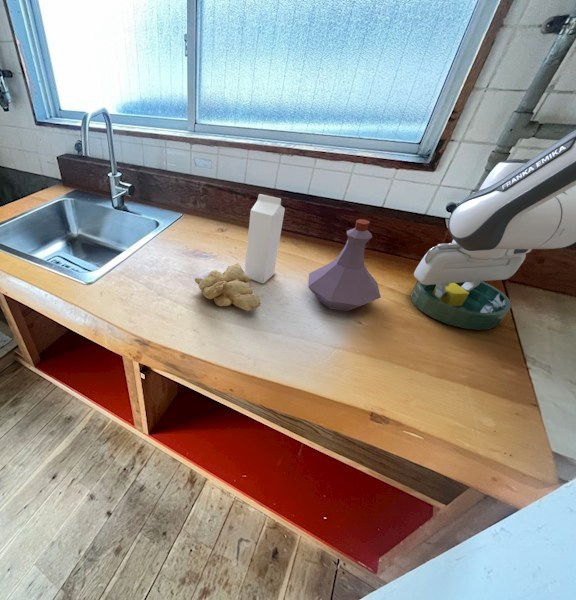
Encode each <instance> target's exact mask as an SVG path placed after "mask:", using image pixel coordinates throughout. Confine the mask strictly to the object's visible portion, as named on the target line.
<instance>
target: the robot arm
mask: <svg viewBox="0 0 576 600" xmlns="http://www.w3.org/2000/svg"><path fill="white" fill-rule="evenodd" d="M574 187H576V129H574V130H572V131H571V132H569V133H568V134H566V135H565V136H563V137H562V138H560V139H559V140H557V141H556V142H554V143H553V144H551V145H549V147H547V148H546V149H544V150H543V151H541V152H540V153H538V154H537V155H535V156H534V157H532V158H510V159H506V160H505V159H504V160H503V161H500V162H498V163H497V164H496V165H495V166H494V167H493V168H492V170H491V171H490V172H489V174H488V175H487V176H486V178H485V179H484V181H482V183H481V186H480V187H479V189H478V190H476V191H474V192H472V193H470V194H469V195H467V196H466V197H465V198H464V199H462V200H461V201H460V202H459V203H458V204H457V205H456V207H454V209H453V210H452V211H451V213H450V216H449V218H448V221H447V229H448V232H449V235H450V236H451V238H452V241H451V242H448V243H438V244H437V245H435V246H433V247H432V248H429V250H428V251H427V252H426V253H425V254H424V256H423V257H422V258H421V260H420V262H419V263H418V265H417V266H416V268H415V270H414V272H413V277H414V278H415V280H416V281H417V280H418V281H419V282H420V283H422V284H423V285H433V284H436V287H437V290H436V291H435V296H437V297H438V298H445V297H446V296H447V294H448V293H449V292H448V291H447V290H446V288H445V287H447V286H449V284H450V283H462V282H465V283H464V284H463V285H462V286H461V288H463V289H464V290H466V291H467V292H468V293H469V292H470V290H472V289H474V288H475V287H476V286H478V285H479V284H480V282H481V281H483V282H489V281H505V280H508V279H510V278H511V277H513V276H514V275H515V274H516V273H517V271H518V270H519V268H520V267H521V266H522V264H523V263H524V261H525V260H526V257H527V254H528V253H531V251H533V250H555V249H564V248H567V247H568V248H569V247H571V246H572V245H574V244H576V190H575V189H573V188H574Z"/></svg>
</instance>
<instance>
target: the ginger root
mask: <svg viewBox="0 0 576 600" xmlns="http://www.w3.org/2000/svg"><path fill="white" fill-rule="evenodd" d="M250 281H251V279H249V277H248V276H247V275H246V274H244V270H243V268H242V266H241V264H240V263H235V264H232V265H228V266H227V267H226V269H225V271H223V272H220V271H218V270H217V269H216V270H211V271H210V272H209V273H208V274H207V275H205V277H204V278H202V277H201V278H200V277H195V278H194V282H195V283H196V284H197V286H198V288H199V289H200V290H201V291H200V292H201V294H202V295H203V297H205V298H206V299H208V300H212V299H213V302H214V303H215V305H216V306H219V307H228V306H231V305H232V304H233V305H234V306H235V307H237V308H239V309H240V310H244V311H245V312H251V311H252V310H256V309H258V308H259V307H261V303H262V302H261V296H260V295H259V294H254V290H253V289H252V286H251V284H249V283H250Z"/></svg>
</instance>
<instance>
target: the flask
mask: <svg viewBox="0 0 576 600" xmlns="http://www.w3.org/2000/svg"><path fill="white" fill-rule="evenodd" d="M370 223H371V222H370V220H367V219H364V218H363V219H361V218H359V219H356V221H355V227H354V228H351V229H348V230H346V235H347V239H346V240H347V241H346V242H345V245H344V246H343V248H342V249H341V251H340V253H339V254H338V255H337V257H336V258H335V259H334V260H332V261H330V262H329V263H326V264H325V265H324V266H322V267H319V268H317V269H315V270H313V271H310V272H309V273H308V283H307V284H308V285H307V287H308V288H309V290H310V291H311V292H312V294H313V295H314V296H315V298H317V300H318V301H319V302H320V303H322V304H323V305H325V306H326V307H328V308H329V309H332V310H337V311H345V312H348V311H351V310H354V309H356V308H359V307H361V306H364V305H367V304H369V303H371V302H374V301H376V300H379V299H381V298H382V295H381V293H380V292H381V291H380V287H379V285H378V282H377V280H376V279H375V278H374V276H373V275H372V274H371V273H370V271H369V270H368V268H367V267H366V265H365V249H366V245H367V243H368V242H369V241H370V240H371V239H373V235H372V233H371V232H370V231H369V230H368V228H369V226H370Z"/></svg>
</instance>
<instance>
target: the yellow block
mask: <svg viewBox="0 0 576 600" xmlns="http://www.w3.org/2000/svg"><path fill="white" fill-rule="evenodd" d="M445 288H446V290H447V291H448V292H449V293H448V294H447V296H446V297H445V298H438V297H437V296H435V291H436V290H437V287H435V289H434V291H433V292H432V295H433V296H434V297H436V298H437V299H438V300H439V301H441V302H442V303H445V304H447V305H450V306H462V305H463V303H464V301H465V300H466V298H467V297H468V295H469V293H468V292H467V291H466V290H464V289H463V288H461V287H460V286H459V285H457V284H456V283H450V284H449V286H447V287H445Z"/></svg>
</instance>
